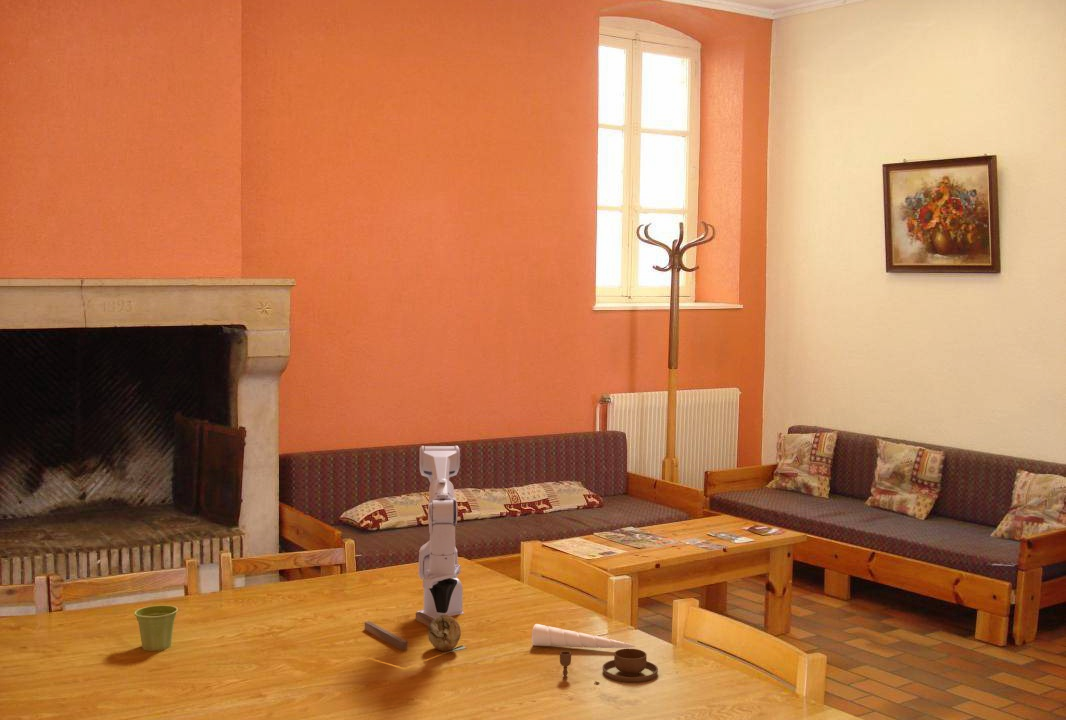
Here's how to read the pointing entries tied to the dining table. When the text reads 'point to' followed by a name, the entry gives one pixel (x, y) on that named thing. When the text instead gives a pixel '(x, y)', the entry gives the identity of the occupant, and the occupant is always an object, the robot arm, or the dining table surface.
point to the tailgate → (456, 649)
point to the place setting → (620, 665)
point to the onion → (444, 633)
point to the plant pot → (156, 626)
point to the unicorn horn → (571, 639)
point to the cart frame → (391, 637)
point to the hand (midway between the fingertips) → (442, 612)
